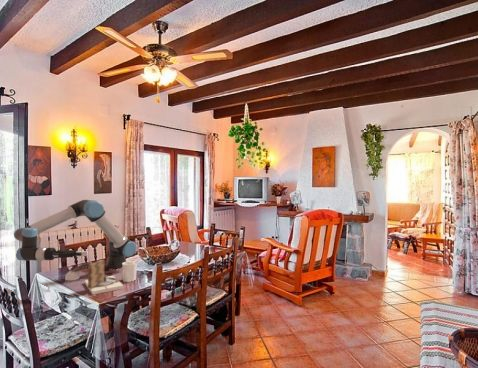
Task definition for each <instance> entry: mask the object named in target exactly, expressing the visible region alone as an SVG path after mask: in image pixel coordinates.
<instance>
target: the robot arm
mask: <svg viewBox="0 0 478 368" xmlns="http://www.w3.org/2000/svg"><path fill="white" fill-rule="evenodd" d="M104 208H105V207H104V206H103V204H102V202H100V201H98V200H94V199H91V200H90V199H82V200H80V201H77V202H74V203H73V204H70V205H68V206H67V208H65V209H63V210H61V211H58V212H57V213H54V214H52V215H49V216H48V217H46V218H43V219H41V220H38V221H36V222H34V223H32V224H30V225H27V226H25V227H20V228H17V229H16V230H15V231H13V232H14V233H13V237H14V239H16V240H17V241H19V242H21V247H20V248H18V249H17V250H16V253H15V258H16V259H17V261H24V262H26V261H40V262H43V261H53V260H54V259H64V258H66V259H67V258H76V257H88V256H89V251H87V250H84V251H83V250H82V251H81V250H78V249H76V250H75V249H74V250H72V249H62V250H61V249H58V250H56V248H55V247H38V235H39V234H41V233H44V232H46V231H48V230H50V229H52V228H54V227H57V226H58V225H61V224H63V223H65V222H67V221H70V220H71V219H76V218H77V219H78V218H79V217H83V216H84V217H86V218H87V219H88V221H89V222H90V223H95V225H97V226H98V227H99V229H100V230H101V232H103V233H104V234H105V236H106V237H107V238H108V257H107V261H106V264H105V267H106V268H107V269H122V268H121V267H122V263H123V262H127V259H126V258H129V257H132V256H134V254H136V251H137V248H138V247H137V243H135V242H134V241H132V240H131V239H130V238H129V237H128V236H127V235H123V234H122V233H121V231H120V230H119V229H118V228H117V226H116V225H115V224H114V223H113V222H112V221H111V220H110V218H109V217H108V216H107V215H106V210H105V209H104Z"/></svg>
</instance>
